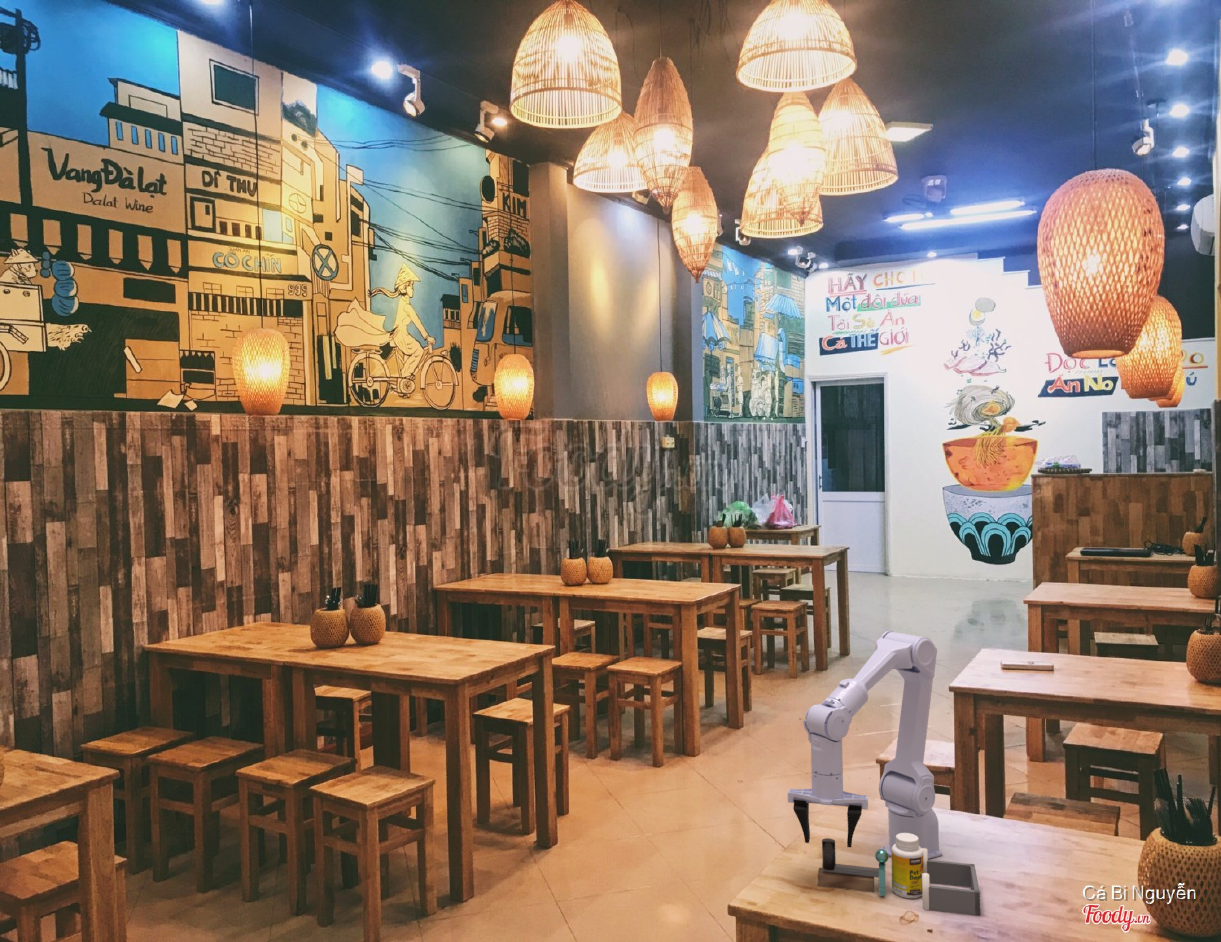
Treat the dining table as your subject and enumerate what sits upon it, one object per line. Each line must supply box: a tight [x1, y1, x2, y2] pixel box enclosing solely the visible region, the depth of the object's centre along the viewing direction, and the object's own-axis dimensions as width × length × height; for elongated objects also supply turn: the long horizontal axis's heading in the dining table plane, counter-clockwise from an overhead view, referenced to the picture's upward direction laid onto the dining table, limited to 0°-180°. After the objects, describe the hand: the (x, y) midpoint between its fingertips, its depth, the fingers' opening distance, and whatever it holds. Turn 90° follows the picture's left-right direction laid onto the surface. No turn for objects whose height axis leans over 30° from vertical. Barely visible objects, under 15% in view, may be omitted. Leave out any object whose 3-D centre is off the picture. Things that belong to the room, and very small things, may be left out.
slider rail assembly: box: [821, 837, 890, 897], centre depth 169 cm, size 12×7×8 cm, turn 72°
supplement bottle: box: [891, 833, 924, 899], centre depth 166 cm, size 6×6×10 cm
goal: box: [922, 848, 981, 917], centre depth 164 cm, size 9×12×6 cm
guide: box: [817, 867, 875, 893], centre depth 169 cm, size 10×3×2 cm, turn 72°
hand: (828, 843), depth 170 cm, fingers open, 7 cm apart
